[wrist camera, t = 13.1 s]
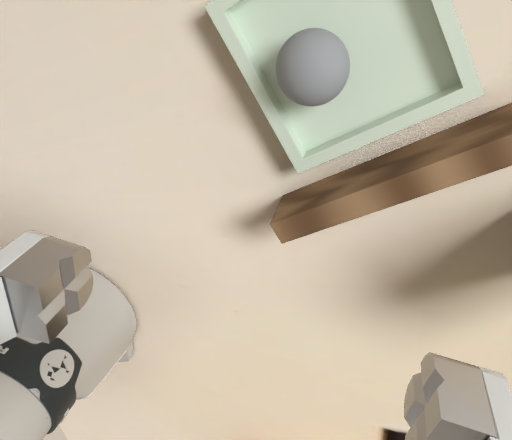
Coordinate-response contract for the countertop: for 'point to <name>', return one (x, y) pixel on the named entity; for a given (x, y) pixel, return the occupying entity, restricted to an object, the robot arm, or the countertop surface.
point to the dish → (352, 68)
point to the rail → (399, 176)
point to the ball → (312, 67)
